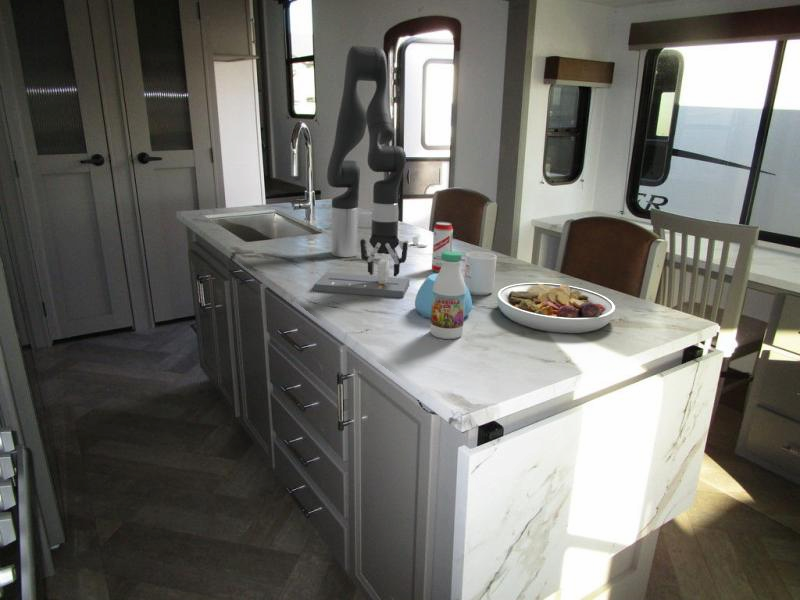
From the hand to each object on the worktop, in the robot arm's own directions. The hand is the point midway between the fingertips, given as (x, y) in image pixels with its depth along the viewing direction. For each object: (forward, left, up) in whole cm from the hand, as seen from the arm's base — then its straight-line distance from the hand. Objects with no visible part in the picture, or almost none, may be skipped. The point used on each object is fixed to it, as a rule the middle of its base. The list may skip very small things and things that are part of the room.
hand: (383, 274), depth 167 cm
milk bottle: (+31, +21, -5) cm, 38 cm away
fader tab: (0, 0, -2) cm, 2 cm away
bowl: (+11, +48, -5) cm, 49 cm away
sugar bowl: (+16, +19, -5) cm, 25 cm away
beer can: (-26, +15, -5) cm, 30 cm away
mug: (-7, +27, -5) cm, 28 cm away
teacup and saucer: (-58, +2, -5) cm, 59 cm away
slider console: (0, -6, -4) cm, 7 cm away
